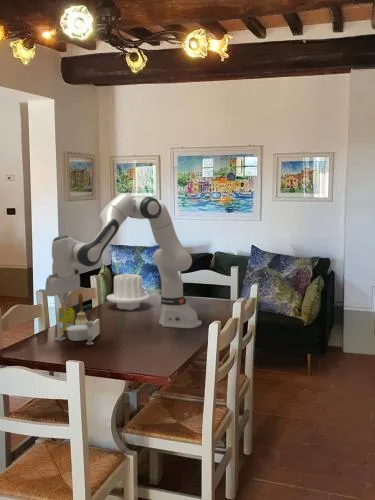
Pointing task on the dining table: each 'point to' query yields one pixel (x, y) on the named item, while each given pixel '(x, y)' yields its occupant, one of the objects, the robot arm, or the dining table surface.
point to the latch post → (60, 331)
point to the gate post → (89, 335)
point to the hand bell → (81, 313)
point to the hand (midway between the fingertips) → (63, 302)
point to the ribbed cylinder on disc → (128, 291)
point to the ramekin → (77, 332)
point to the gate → (94, 327)
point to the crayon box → (67, 317)
